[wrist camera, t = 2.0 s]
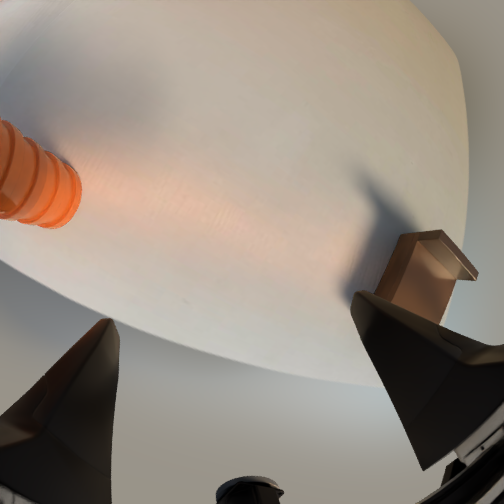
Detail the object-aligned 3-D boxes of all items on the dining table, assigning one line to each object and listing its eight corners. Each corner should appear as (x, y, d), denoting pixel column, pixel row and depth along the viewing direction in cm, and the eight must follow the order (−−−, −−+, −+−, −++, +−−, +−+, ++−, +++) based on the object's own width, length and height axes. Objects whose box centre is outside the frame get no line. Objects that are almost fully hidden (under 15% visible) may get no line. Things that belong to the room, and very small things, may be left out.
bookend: (406, 348, 26) (443, 363, 20) (360, 320, 25) (398, 334, 19) (440, 270, 27) (478, 272, 21) (400, 234, 26) (441, 229, 20)
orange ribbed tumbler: (61, 241, 20) (-40, 228, 8) (24, 209, 20) (-66, 183, 7) (93, 182, 21) (10, 122, 8) (53, 155, 20) (-24, 97, 7)
